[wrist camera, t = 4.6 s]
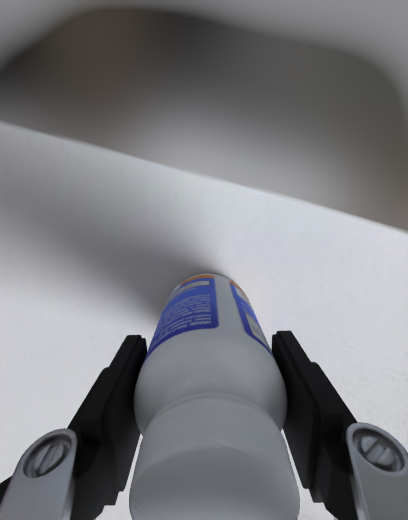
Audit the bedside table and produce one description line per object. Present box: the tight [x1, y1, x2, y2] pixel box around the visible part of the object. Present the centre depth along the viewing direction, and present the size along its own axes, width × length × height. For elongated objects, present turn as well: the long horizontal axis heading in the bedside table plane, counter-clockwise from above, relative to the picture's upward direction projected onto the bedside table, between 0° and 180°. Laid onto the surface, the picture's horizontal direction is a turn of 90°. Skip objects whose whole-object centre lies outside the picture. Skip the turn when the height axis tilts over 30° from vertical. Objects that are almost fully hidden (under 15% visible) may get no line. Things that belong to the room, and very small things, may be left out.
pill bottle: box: [129, 273, 300, 520], centre depth 10 cm, size 5×5×10 cm
